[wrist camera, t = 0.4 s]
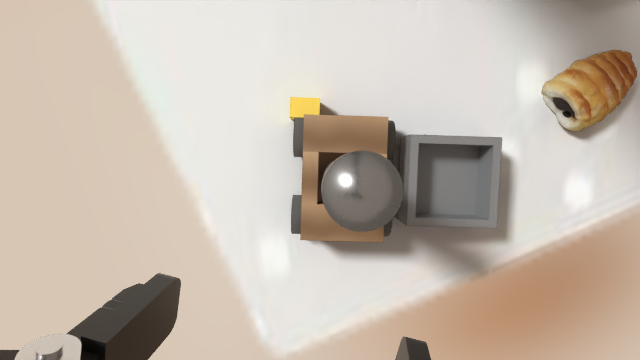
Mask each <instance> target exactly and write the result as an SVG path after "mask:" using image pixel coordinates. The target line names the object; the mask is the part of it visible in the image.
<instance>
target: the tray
mask: <svg viewBox="0 0 640 360" xmlns="http://www.w3.org/2000/svg"><path fill="white" fill-rule="evenodd" d="M501 148H502V137H471V136H440V135H407V136H404V137H401V148H400V170H399V174H400V177H401V180H402V184H403V198H402V202H401V205H400V208H399V210H398V216H397V219H398V220H400V221H401V222H403V223H404V224H405V225H407V226H440V227H476V228H497V213H498V197H499V180H500V164H501Z"/></svg>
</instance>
